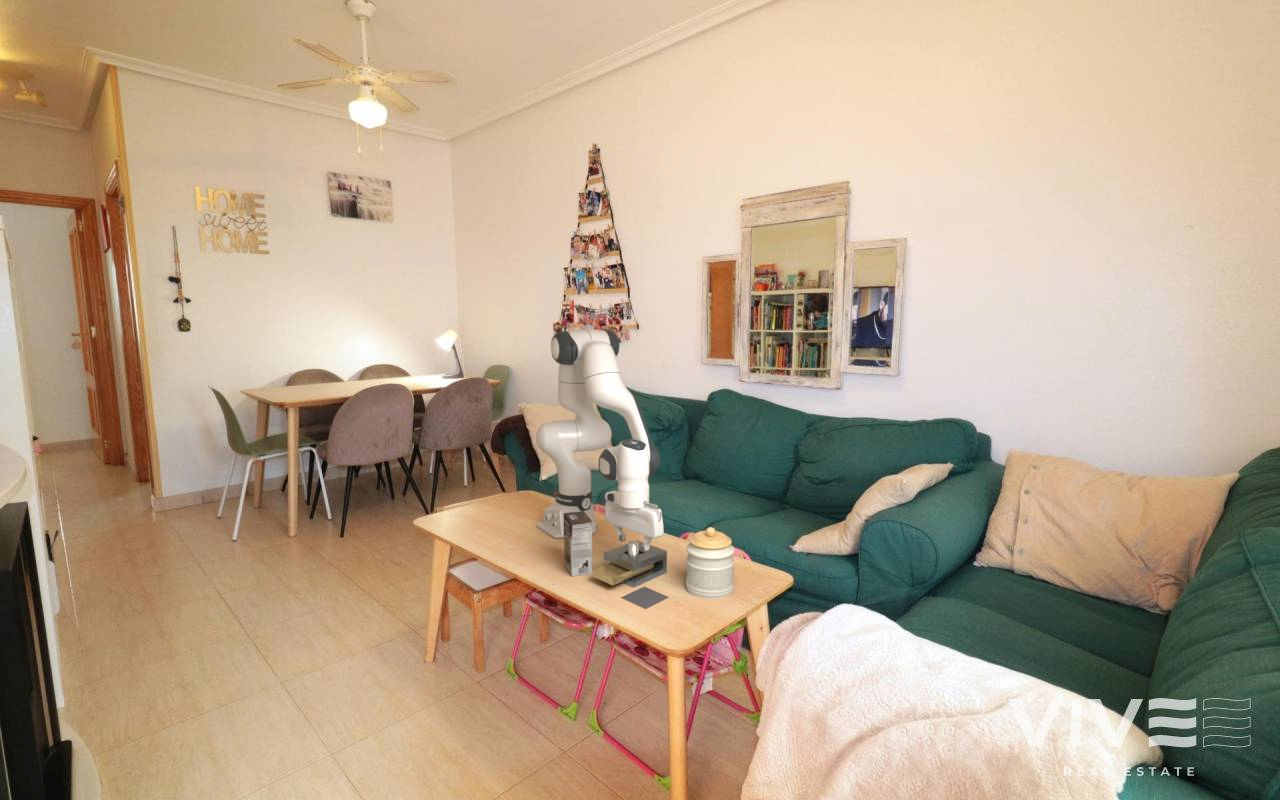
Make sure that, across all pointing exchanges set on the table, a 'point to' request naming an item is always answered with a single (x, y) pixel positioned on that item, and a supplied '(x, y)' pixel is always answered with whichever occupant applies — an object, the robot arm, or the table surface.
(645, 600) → the mat
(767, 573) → the table surface
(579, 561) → the coffee box
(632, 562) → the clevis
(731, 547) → the jar
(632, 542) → the pin
